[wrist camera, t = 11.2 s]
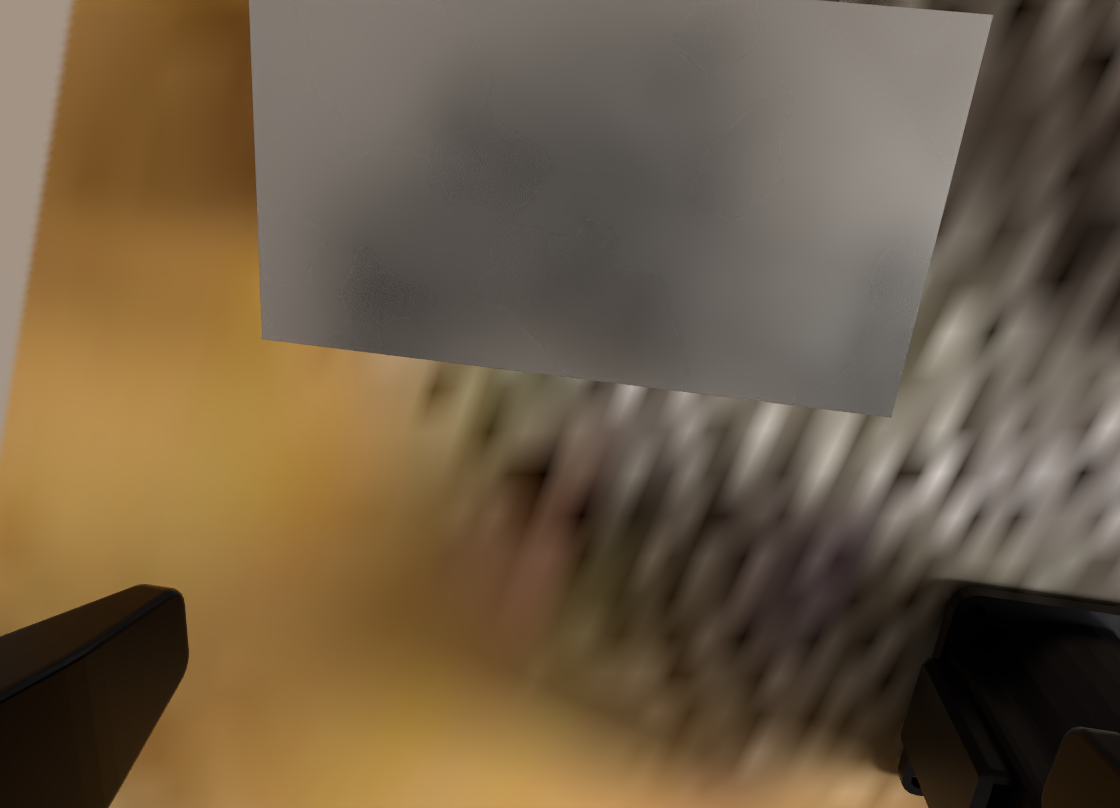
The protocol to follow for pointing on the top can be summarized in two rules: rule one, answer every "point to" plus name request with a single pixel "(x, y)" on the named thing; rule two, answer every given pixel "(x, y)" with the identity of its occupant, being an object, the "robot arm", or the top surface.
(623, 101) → the block
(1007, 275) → the top surface
